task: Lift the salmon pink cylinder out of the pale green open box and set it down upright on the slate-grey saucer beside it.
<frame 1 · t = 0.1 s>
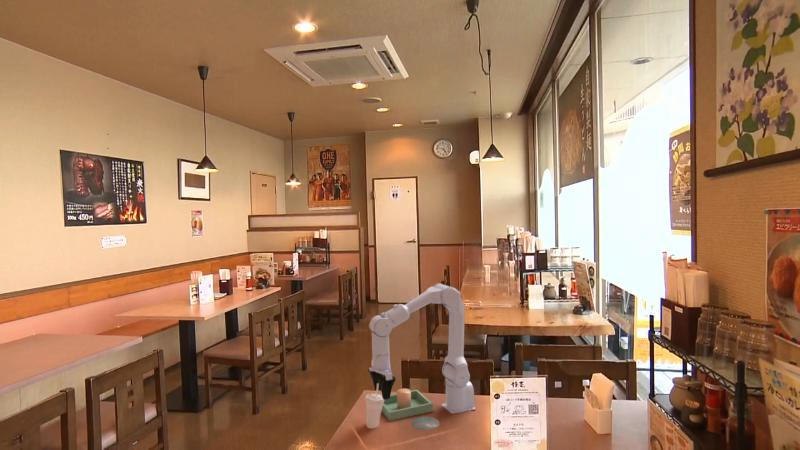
hand: (382, 394, 142), 10 cm above the table, tool pointing down, fingers open, 7 cm apart
salmon pink cylinder: (404, 408, 152), point 1 cm above the table, touching pale green open box
saucer: (425, 424, 141), on the table
pale green open box: (404, 409, 152), on the table
smoothie: (372, 427, 140), on the table
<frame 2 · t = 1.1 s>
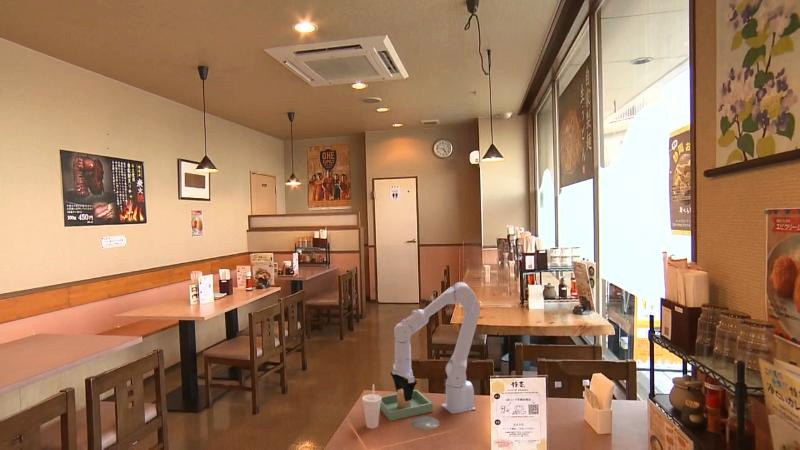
hand: (403, 396, 152), 5 cm above the table, tool pointing down, fingers open, 7 cm apart
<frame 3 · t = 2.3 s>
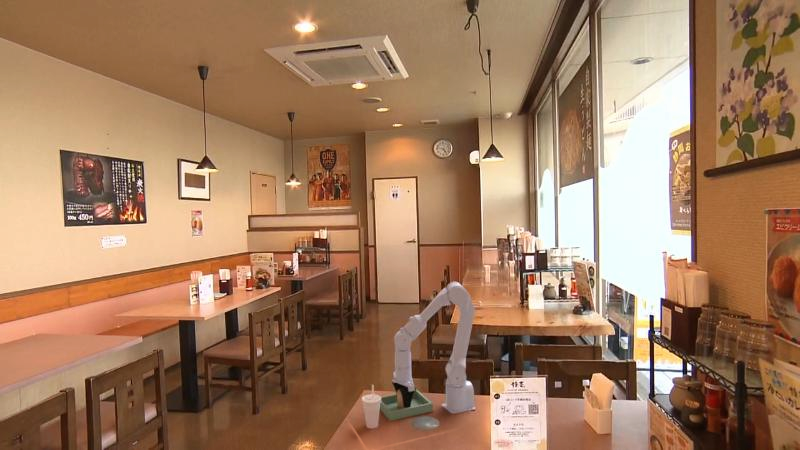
hand: (404, 404, 152), 2 cm above the table, tool pointing down, fingers closed on salmon pink cylinder, 5 cm apart
salmon pink cylinder: (404, 408, 152), point 1 cm above the table, touching pale green open box, gripper
everything else where it was.
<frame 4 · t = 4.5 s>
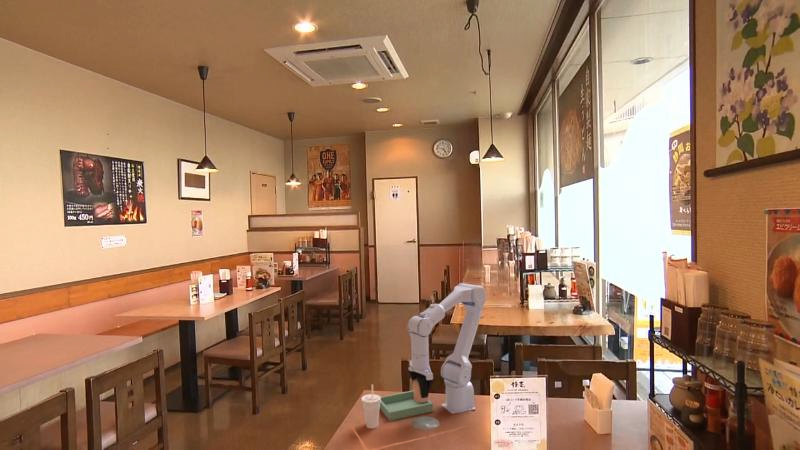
hand: (421, 394, 143), 9 cm above the table, tool pointing down, fingers closed on salmon pink cylinder, 5 cm apart
salmon pink cylinder: (420, 399, 143), point 8 cm above the table, touching gripper
everything else where it was.
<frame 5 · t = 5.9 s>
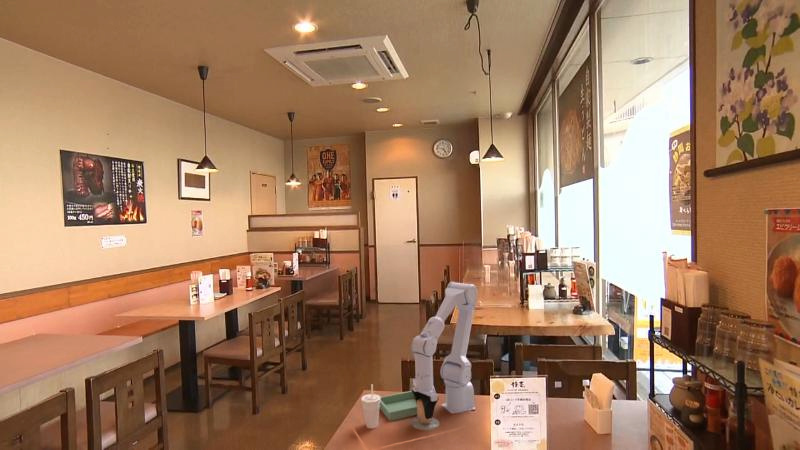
hand: (425, 414, 141), 3 cm above the table, tool pointing down, fingers closed on salmon pink cylinder, 5 cm apart
salmon pink cylinder: (424, 419, 141), point 2 cm above the table, touching gripper
when the fingers open (3 cm above the table, at t = 6.7 s): salmon pink cylinder drops 1 cm, resting on saucer.
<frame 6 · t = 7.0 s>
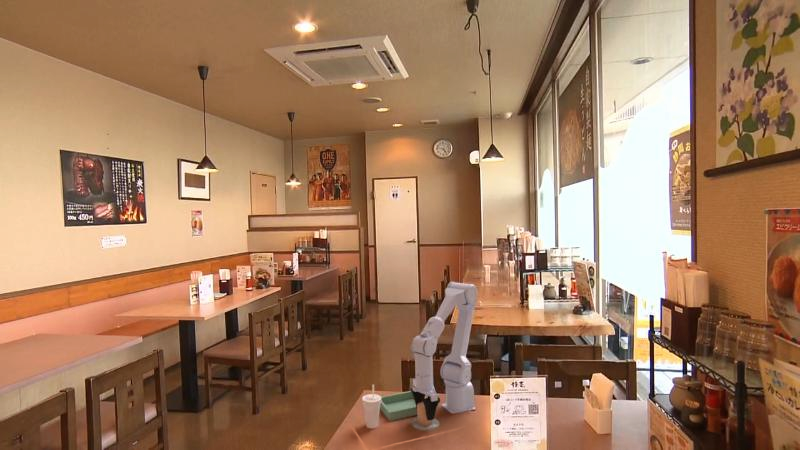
hand: (425, 414, 141), 3 cm above the table, tool pointing down, fingers open, 7 cm apart
salmon pink cylinder: (424, 423, 141), point 1 cm above the table, touching saucer
everything else where it was.
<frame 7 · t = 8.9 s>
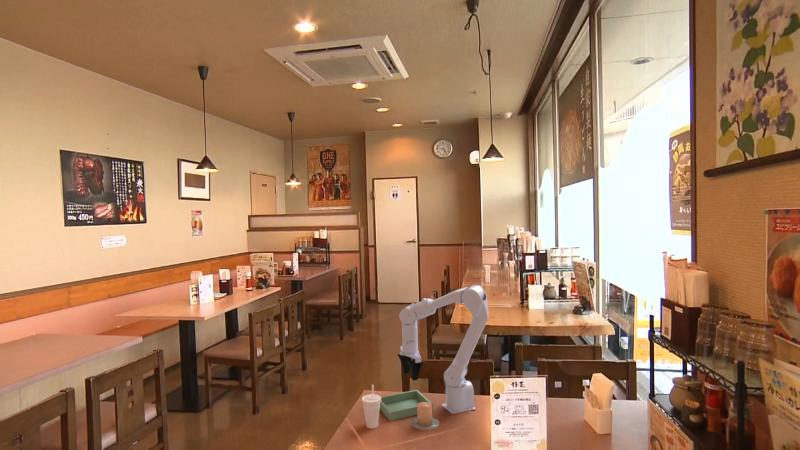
hand: (410, 376, 158), 9 cm above the table, tool pointing down, fingers open, 7 cm apart
nothing on the table moved.
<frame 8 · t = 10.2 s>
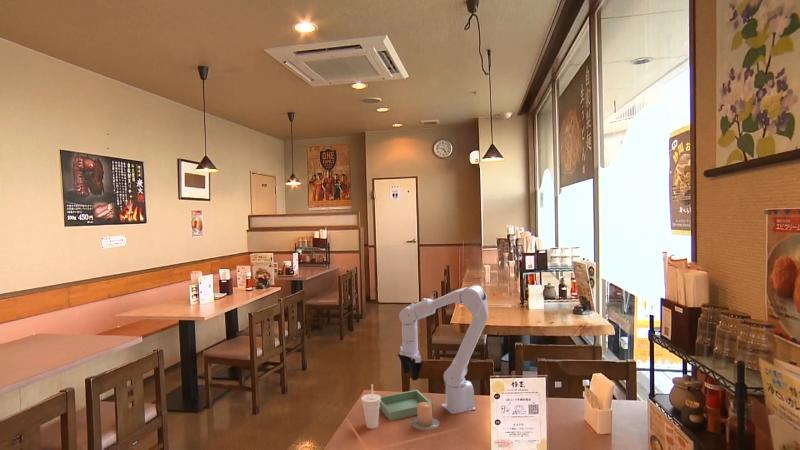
hand: (410, 376, 159), 9 cm above the table, tool pointing down, fingers open, 7 cm apart
nothing on the table moved.
at the end: salmon pink cylinder 0.2 cm off-centre on the saucer, point 0.6 cm above the saucer's base; salmon pink cylinder tilted 0°; the gripper is holding nothing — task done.
